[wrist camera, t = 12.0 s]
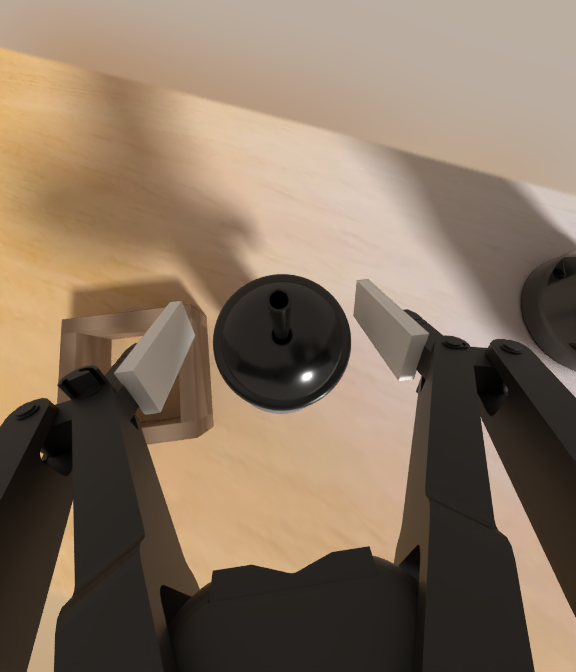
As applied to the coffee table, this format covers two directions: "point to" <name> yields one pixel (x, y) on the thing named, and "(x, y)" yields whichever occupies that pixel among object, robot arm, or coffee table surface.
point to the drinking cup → (282, 342)
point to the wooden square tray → (97, 332)
